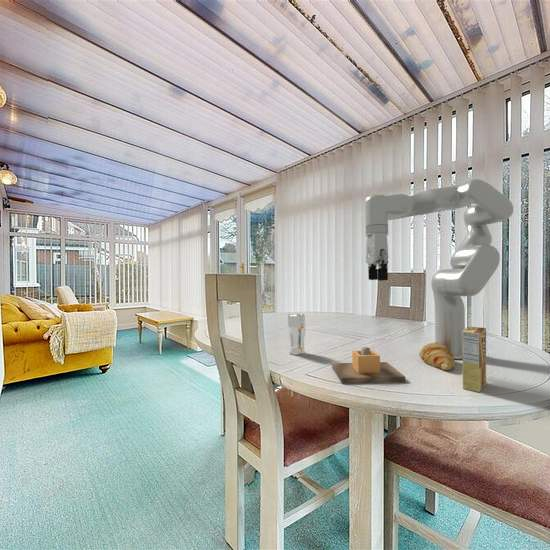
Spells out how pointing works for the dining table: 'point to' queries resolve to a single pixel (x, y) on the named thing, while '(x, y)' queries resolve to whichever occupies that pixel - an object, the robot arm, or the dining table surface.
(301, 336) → the beer glass
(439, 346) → the croissant
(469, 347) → the candy box
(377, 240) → the robot arm
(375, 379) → the post board
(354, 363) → the collar
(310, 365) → the dining table surface
